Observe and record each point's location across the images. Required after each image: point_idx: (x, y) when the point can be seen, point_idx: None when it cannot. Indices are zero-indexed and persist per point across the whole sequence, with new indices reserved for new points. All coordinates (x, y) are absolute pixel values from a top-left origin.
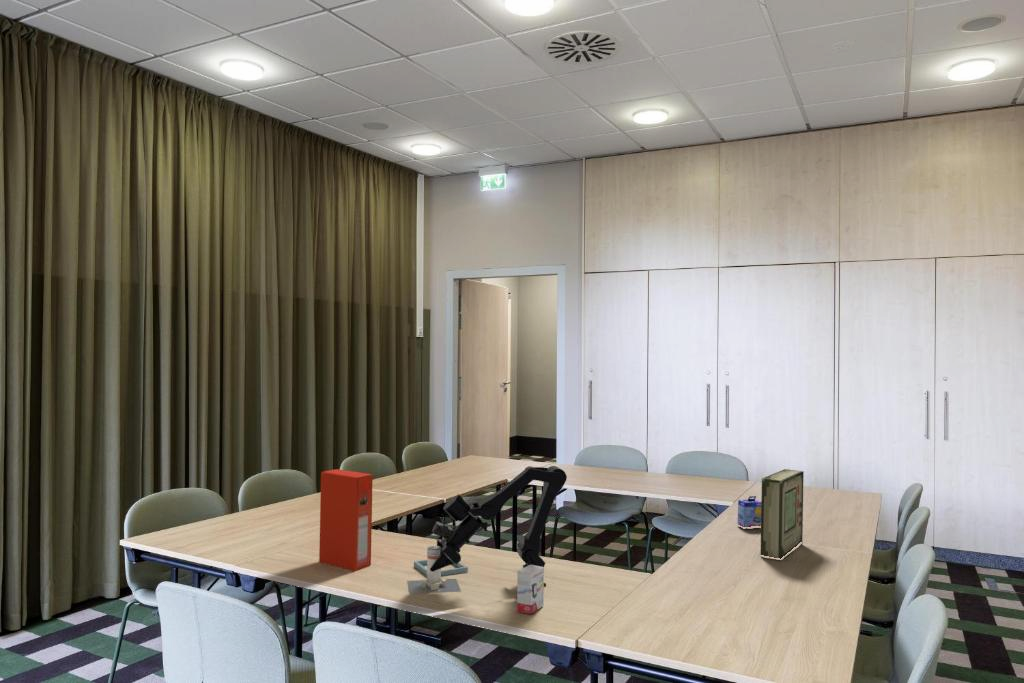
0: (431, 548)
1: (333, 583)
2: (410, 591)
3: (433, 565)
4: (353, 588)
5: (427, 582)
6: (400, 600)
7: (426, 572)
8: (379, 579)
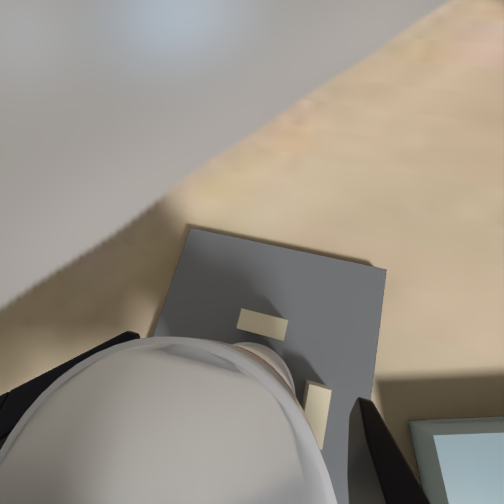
0: (147, 433)
1: (462, 11)
2: (215, 240)
3: (75, 358)
4: (380, 63)
5: (236, 343)
6: (173, 191)
7: (489, 428)
8: (486, 167)
